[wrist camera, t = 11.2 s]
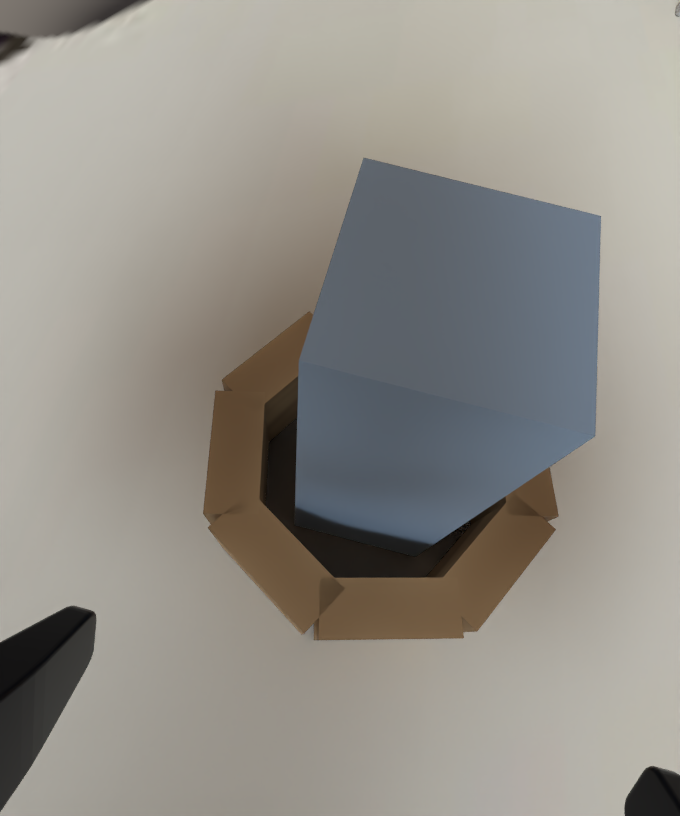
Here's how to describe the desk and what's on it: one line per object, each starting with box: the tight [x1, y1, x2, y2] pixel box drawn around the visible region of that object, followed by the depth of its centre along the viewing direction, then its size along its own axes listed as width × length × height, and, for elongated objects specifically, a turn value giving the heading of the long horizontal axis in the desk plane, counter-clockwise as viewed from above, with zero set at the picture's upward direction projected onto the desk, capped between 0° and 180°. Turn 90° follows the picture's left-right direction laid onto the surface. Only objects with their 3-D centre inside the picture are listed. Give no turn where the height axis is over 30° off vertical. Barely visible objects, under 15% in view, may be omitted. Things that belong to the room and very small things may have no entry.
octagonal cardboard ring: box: [203, 312, 558, 640], centre depth 18 cm, size 11×11×4 cm
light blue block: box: [295, 158, 601, 557], centre depth 14 cm, size 4×4×12 cm
